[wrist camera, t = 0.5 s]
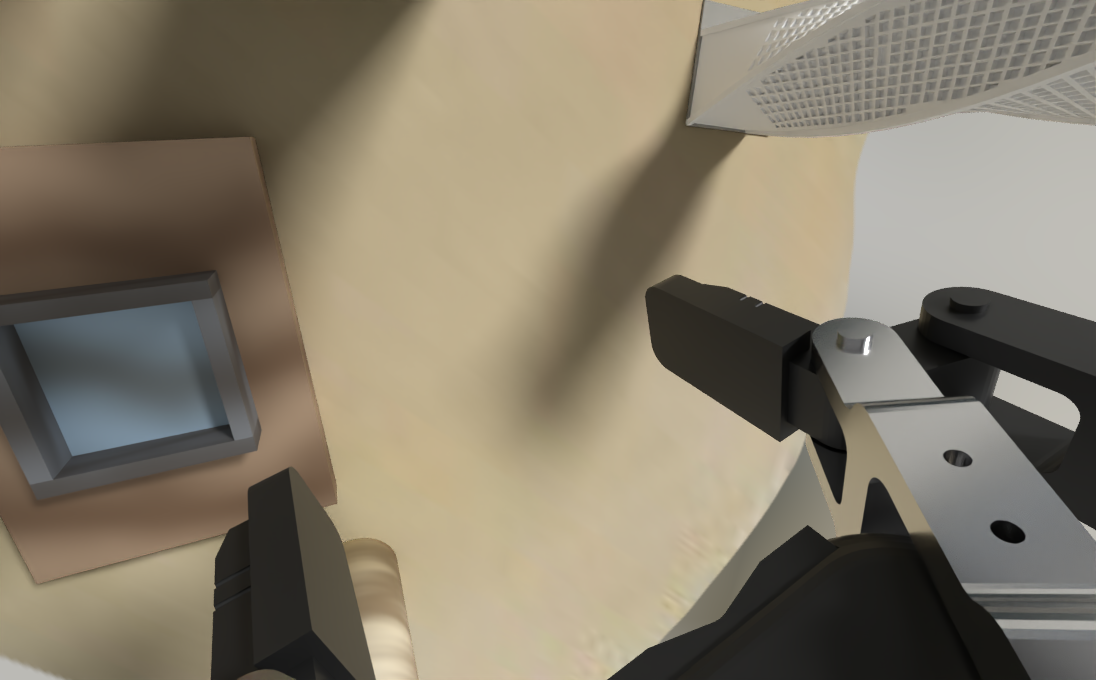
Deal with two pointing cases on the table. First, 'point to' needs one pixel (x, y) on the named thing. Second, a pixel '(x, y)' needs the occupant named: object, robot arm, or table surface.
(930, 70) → the skyscraper
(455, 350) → the table surface
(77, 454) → the base board
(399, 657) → the birch column
